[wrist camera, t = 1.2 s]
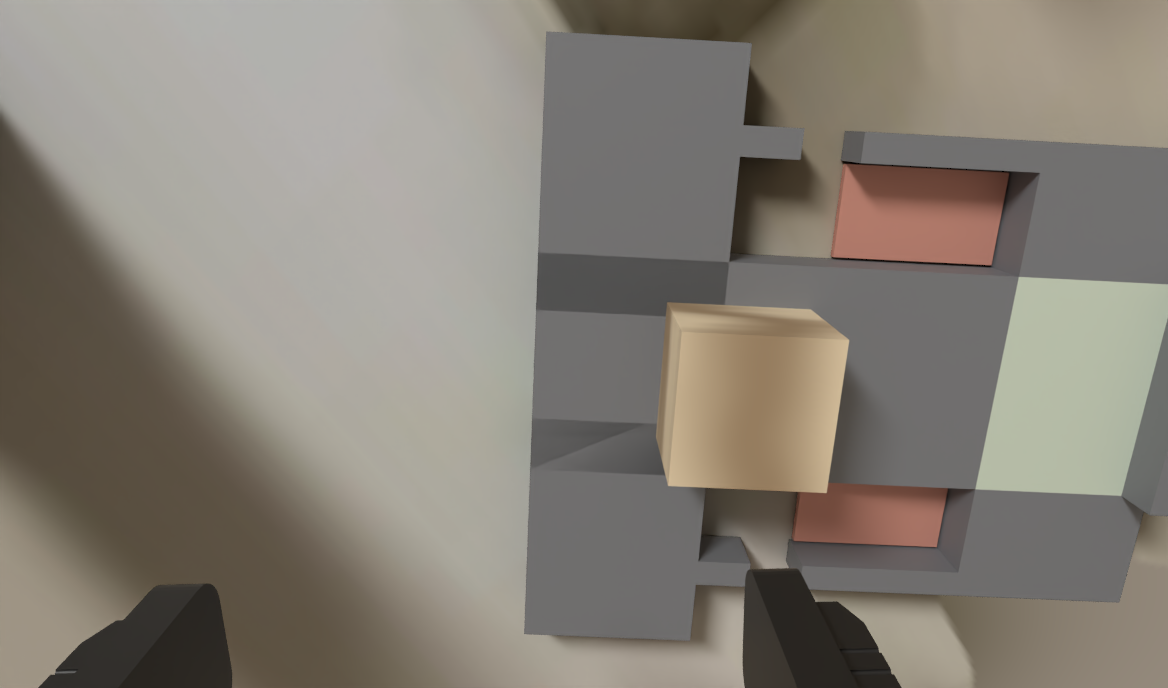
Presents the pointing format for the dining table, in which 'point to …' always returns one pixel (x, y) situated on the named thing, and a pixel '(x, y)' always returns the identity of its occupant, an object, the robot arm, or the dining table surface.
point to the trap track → (875, 353)
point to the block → (749, 397)
